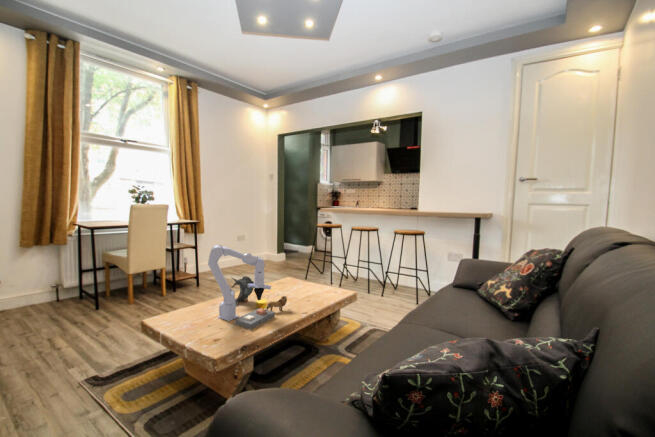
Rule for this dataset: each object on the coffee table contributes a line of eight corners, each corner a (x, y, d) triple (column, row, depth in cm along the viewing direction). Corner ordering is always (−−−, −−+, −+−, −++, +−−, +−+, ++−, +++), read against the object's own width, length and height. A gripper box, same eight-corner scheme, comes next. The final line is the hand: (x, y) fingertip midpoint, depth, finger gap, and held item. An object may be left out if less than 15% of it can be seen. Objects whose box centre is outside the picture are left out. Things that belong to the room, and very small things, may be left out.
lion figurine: (285, 307, 198) (285, 294, 197) (288, 310, 193) (288, 296, 192) (263, 312, 190) (263, 298, 189) (266, 315, 186) (266, 300, 185)
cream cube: (244, 324, 172) (244, 317, 171) (249, 321, 175) (249, 314, 175) (249, 325, 170) (249, 318, 169) (254, 323, 173) (254, 316, 173)
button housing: (235, 324, 171) (234, 319, 171) (259, 312, 188) (259, 308, 188) (250, 329, 165) (250, 324, 165) (274, 317, 182) (274, 312, 182)
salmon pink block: (256, 316, 180) (256, 310, 180) (261, 314, 184) (261, 308, 183) (261, 318, 178) (261, 311, 178) (266, 316, 182) (266, 309, 181)
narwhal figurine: (255, 304, 202) (255, 278, 200) (231, 307, 196) (231, 280, 195) (252, 297, 215) (252, 273, 213) (229, 300, 209) (229, 274, 208)
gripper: (245, 278, 182) (245, 300, 183) (267, 280, 178) (267, 303, 180) (250, 275, 188) (250, 296, 189) (272, 277, 185) (272, 299, 186)
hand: (259, 299), depth 185 cm, fingers closed
